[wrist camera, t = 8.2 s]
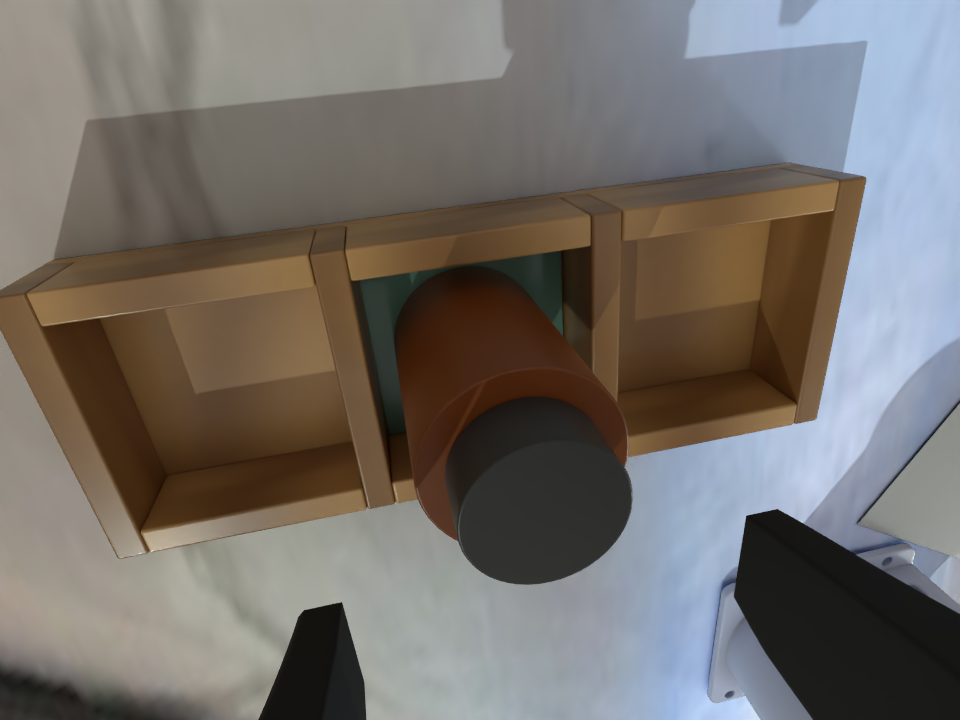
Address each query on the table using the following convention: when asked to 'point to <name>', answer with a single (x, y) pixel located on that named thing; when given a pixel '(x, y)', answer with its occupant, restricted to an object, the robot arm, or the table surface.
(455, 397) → the spice bottle
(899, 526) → the skate ramp
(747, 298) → the spice tray
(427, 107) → the table surface
